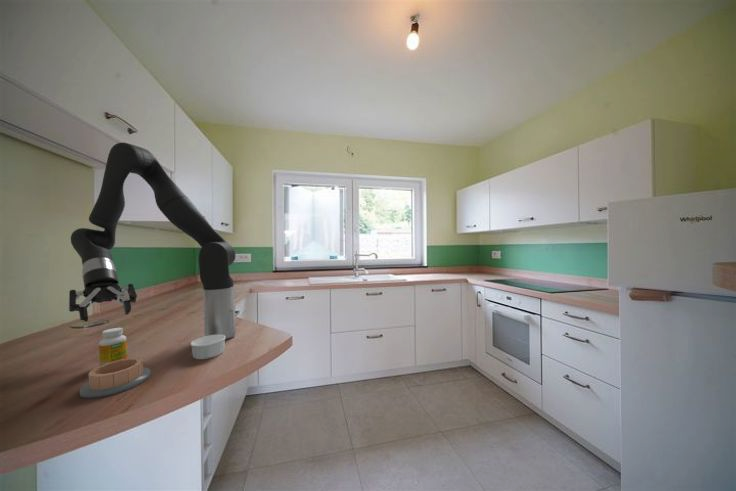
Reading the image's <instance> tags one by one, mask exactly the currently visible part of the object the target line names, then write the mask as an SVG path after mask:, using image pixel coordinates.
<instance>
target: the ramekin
mask: <svg viewBox="0 0 736 491" xmlns="http://www.w3.org/2000/svg"><path fill="white" fill-rule="evenodd" d="M225 338H226V337H225V336H224V335H209V336H205V335H204V336H200V337H198V338H196V339H193V340H192V341H191V342H190V344H189V345H190V347H191V353H192V357H193V359H195V360H207V359H208V360H209V359H212V358H215V357H217V356H220V355H221V354H223V353H224V351H225V342H226V341H225V340H226V339H225Z"/></svg>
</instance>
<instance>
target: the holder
mask: <svg viewBox="0 0 736 491" xmlns="http://www.w3.org/2000/svg"><path fill="white" fill-rule="evenodd" d="M150 377H151V368H149V367H146V366H144V360H143V359H142V358H141V357H130V358H129V357H127V359H122V360H117V361H114V362H110V363H107V364H104V365H101V366H100V365H99V366H97V367H95V368H93V369H92V370H91V371H89V372H88V381H87V382H86V383H84V384H83V385H82V386H81V387H80V388H79V397H81V398H82V397H83V398H82V399H100V398H104V397H109V396H113V395H116V394H120V393H123V392H126V391H128V390H131V389H133V388H135V387H137V386H139V385H141V384H143V383H144V382H146V381H147V380H148V379H150Z"/></svg>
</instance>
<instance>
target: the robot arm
mask: <svg viewBox="0 0 736 491" xmlns="http://www.w3.org/2000/svg"><path fill="white" fill-rule="evenodd" d="M130 173H131V174H133V175H137V176H139V177H141V178H142V179H143V180H144V181H145V182H146V183H147V184H148V185H149V186H150V187H151V189H152V191H153V193H154V199H155V204H156V206H157V208H158V209H159V210H160V212H161V213H162V214H163V215H164V217H166V219H167V220H168V221H169V222H170V223H171V224H172V225H173V226H174V227H176V228H177V229H178V230H180V231H182V232H183V233H185V234H186V235H188V236H189V237H190V238H191V239H193V240H194V241H195V242H196V243H198V245H199V246H200V247H201V248H200V250H199V253H198V268H199V269H198V272H199V278H200V283H202V289H203V290H202V291H203V292H202V293H203V320H204V336H209V335H224V336H225V337H226V338H225V340H227V339H230V338H235V336H236V331H237V327H236V326H237V322H236V321H237V320H236V306H235V298H234V297H235V292H234V290H235V288H234V278H233V277H231V275H230V269H229V266H231V265H232V264H233V263H234V262H235V261H236V251H235V248H234V247H233V246H232V245H231V244H230V243H229V242H228V241H227V240H226V239H225V238H224V237H222V235H221V234H220V233H218V232H217V231H216V230H215V229H214V228H213V226H212V224H210V223H209V221H208V220H207V219H206V217H205V216H204V215H203V214H202V213H201V211H200V210H198V208H197V207H196V206H195V204H194V203H193V202H192V201H191V199H190V198H189V197H188V196H187V195H186V194H185V193H184V192H183V190H181V189H180V187H179V186H178V185H177V184H176V182H175V181H174V180H173V179H172V178H171V177H170V176H169V175H168V173H167V171H166V169H164V167H163V166H162V165H161V163H160V162H159V160H158V159H157V157H156V156H155V155H154V154H153V152H151V151H149V150H148V149H146V148H145V147H144V148H143V147H141V146H138V145H134V144H131V143H127V142H117V143H115V144H114V145H113V146H112V147H111V149H110V150H109V153H108V156H107V161H106V164H105V169H104V172H103V179H102V183H101V188H100V191H99V194H98V196H97V199H96V202H95V203H94V206H93V208H92V210H91V212H90V214H89V216H88V222H90V224H92V225H94V226H96V227H99V228H102V229H103V230H98V229H92V228H88V227H87V228H85V227H80V228H77V229H75V230H74V231H73V232H72V233H71V234H70V244H71V246H72V247H73V249H74V250H75V252H76V253H77V254H78V256H79V258H80V259H81V263H82V273H81V274H82V276H81V277H82V281H83V287H84V289H83V290H80V291H79V290H78V291H77V290H76V289H70V290H69V292H68V293H69V296H68V297H69V298H68V301H69V303H68V310H69V312H78V313H79V314H78V315H79V320H80V321H83V322H84V323H85V322H88V321H89V314H88V308H89V307H91V306H92V305H94V303H97V304H99V303H103V302H112V301H114V302H116V303H120V304H122V307H123V310H124V312H123V313H124V315H129V313H131V310H132V305H131V303H136V302H137V298H138V294H137V292H136V290H135V286H134V284H132V283H128V284H127V285H125V286H121V285H120V283H119V278H118V275H117V274H118V273H117V269H116V265H115V264H114V263H115V262H114V260H113V255H112V252H111V251H110V250H111V249H113V248H114V246H115V245H116V232H117V230H116V229H117V227H118V222H119V221H120V219H121V217H122V215H123V212H124V210H125V206H126V201H125V194H124V185H125V182H126V179H127V178H128V176H129V174H130ZM122 291H123V292H124V293H126V294H127V295H128V296H126V295H125V294H124V293H123V292H122ZM82 296H83V297H84V298H85V299H84V300H83V301H81V302H80V304H78V303H77V300H78V299H80V297H82Z"/></svg>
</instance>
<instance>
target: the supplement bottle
mask: <svg viewBox="0 0 736 491" xmlns="http://www.w3.org/2000/svg"><path fill="white" fill-rule="evenodd" d="M123 333H124V330H123V327H115V328H108V329H105V330H103V331H102V333H101V335H102V336H101V337H102V339H101V340H100V341H99V343H98V348H99V349H98V350H99V351H98V352H99V355H98V356H99V366H101V365H104V364H107V363H110V362H114V361H117V360H122V359H128V340H127V339H128V338H127V336H126V335H124V334H123Z"/></svg>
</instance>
